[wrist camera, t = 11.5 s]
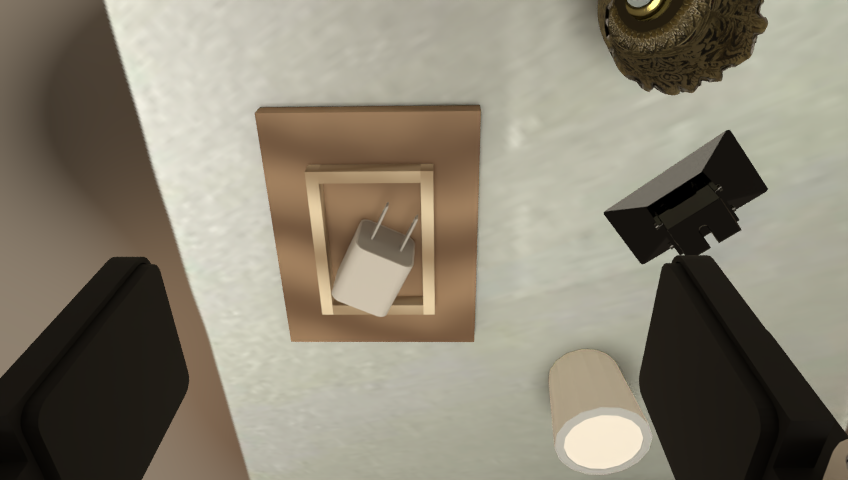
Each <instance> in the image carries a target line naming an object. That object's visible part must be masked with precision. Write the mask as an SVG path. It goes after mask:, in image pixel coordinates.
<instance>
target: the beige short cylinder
mask: <svg viewBox="0 0 848 480" xmlns="http://www.w3.org/2000/svg"><path fill="white" fill-rule="evenodd" d="M548 381H549V392H550V403H551V414H552V425H553V436H554V447H555V450H556V452H557V455H558V457H559V459H560V461H562V462H563V463H564V464H565V465H567V466H568V467H569V468H570V469H572V470H575V471H579V472H582V473H585V474H598V475H606V474H610V473H614V472H618V471H623V470H625V469H627V468H628V467H630V466H632V465H634V464H635V463H637V462H639V461H640V460H641V459H642V457H643V456H644V455H645V454H646V453H647V452H648V450H649V448H650V444H651V441H652V437H653V436H652V433H651V430H650V427H649V424H648V422H647V420H646V418H645V416H644V414H643V413H642V411H641V409H640V407H639V405H638V403H637V401H636V399H635V397H634V396H633V394H632V392H631V390H630V388H629V386H628V384H627V382H626V381H625V379H624V377H623V375H622V373H621V371H620V369H619V367H618V365H617V364H616V362H615V361H614V360H613V359H612V358H611V357H610V356H609V355H608V354H606V353H603V352H601V351H598V350H595V349H580V350H576V351H573V352H570V353H567V354H565V355H564V356H562V357H561V358H559V359H558V360H557V361H556V362H555V363H554V365H553V366H552V368H551V369H550V373H549V380H548Z"/></svg>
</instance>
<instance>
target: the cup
mask: <svg viewBox="0 0 848 480" xmlns="http://www.w3.org/2000/svg"><path fill="white" fill-rule="evenodd" d="M763 2H764V0H651V1H650V3H648V4H647V5H646V6H644V7H640V8H636V7H633V6H631V5H630V4H629V3H628V2H627V0H598V21H599V26H600V30H601V33H602V36H603V39H604V41H605V43H606V45H607V47H608V49H609V51H610V53H611V55H612V57H613V59H614V62H615V64H616V66H617V67H618V69H619V70H620V72H621V73H622V74H623V75H624V76H625V77H627V78H628V79H630V80H633V81H636V82H637V83H638V84H639V86H640V87H641V88H642V89H644V90H646V91H648V92H650V91H651V90H652V89H653V87H654V88H656V89H657V90H659V91H660V92H662V93H664V94H668V95H677V94H679V93H680V91H681V92H689V93H693V92H694V91H695V90H696V89H697V88H698V86H700V85H701V81H708V82H718V81H721V80H722V77H723V74H722V72H723V71H724V70H726V69H728V68H730V67H736V66H737V65H739V64H741V63H742V62H744V61H745V60H747V59H749V58H750V57H751V55H752V53H753V50H754V46H755V43H756V40H757V35H759V34H762V33H763V32H764V31H765V29H766V27H767V25H768V21H767V18H766V17H763V16H762V15H761V14H760V8H761V5H762V4H763Z"/></svg>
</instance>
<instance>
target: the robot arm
mask: <svg viewBox="0 0 848 480" xmlns="http://www.w3.org/2000/svg"><path fill="white" fill-rule="evenodd" d="M188 384H189V374H188V370H187V366H186V362H185V359H184V355H183V352H182V348H181V344H180V341H179V337H178V334H177V330H176V327H175V323H174V319H173V315H172V312H171V308H170V305H169V301H168V297H167V294H166V290H165V287H164V283H163V279H162V276H161V272H160V270H159V268H158V266H157V265H154V264H151V263H150V261H149V260H148V259H147V258H145V257H113V258H111V259H109V260H108V261H107V262H106V263H105V264H104V266H103V267H102V268H101V269H100V270H99V271H98V272H97V273H96V274H95V275H94V276H93V278H92V279H91V280H90V281H89V282H88V283H87V284H86V285H85V286H84V287H83V288H82V290H81V291H80V292H79V293H78V294H77V295H76V296H75V297H74V298H73V299H72V301H71V302H70V303H69V304H68V305H67V306H66V307H65V308H64V309H63V310H62V312H61V313H60V314H59V315H58V316H57V317H56V318H55V319H54V320H53V321H52V322H51V323H50V325H49V326H48V327H47V328H46V329H45V330H44V331H43V332H42V333H41V334H40V336H39V337H38V338H37V339H36V340H35V341H34V342H33V343H32V344H31V345H30V346H29V347H28V349H27V350H26V351H25V352H24V353H23V354H22V355H21V356H20V357H19V358H18V359H17V361H16V362H15V363H14V364H13V365H12V366H11V367H10V368H9V369H8V370H7V372H6V373H5V374H4V375H3V376H2V377H1V378H0V480H142V478H143V476H144V474H145V472H146V470H147V468H148V466H149V465H150V463H151V461H152V459H153V457H154V455H155V453H156V451H157V449H158V447H159V445H160V443H161V441H162V439H163V437H164V435H165V433H166V431H167V429H168V428H169V425H170V424H171V422H172V419H173V418H174V416H175V414H176V412H177V410H178V408H179V406H180V404H181V402H182V400H183V398H184V396H185V394H186V392H187V389H188ZM639 386H640V392H641V395H642V398H643V400H644V403H645V405H646V408H647V410H648V413H649V415H650V418H651V420H652V422H653V425H654V427H655V430H656V432H657V435H658V437H659V440H660V442H661V445H662V447H663V450H664V452H665V455H666V457H667V460H668V462H669V465H670V467H671V470H672V472H673V475H674V477H675V480H848V435H847V434H846V433H845V431H844V430H843V429H842V427H841V426H840V425H839V423H838V422H837V421H836V419H835V418H834V417H833V415H832V414H831V413H830V411H829V410H828V409H827V407H826V406H825V405H824V403H823V402H822V401H821V400H820V398H819V397H818V396H817V394H816V393H815V392H814V390H813V389H812V388H811V386H810V385H809V384H808V382H807V381H806V380H805V378H804V377H803V376H802V374H801V373H800V372H799V370H798V369H797V368H796V366H795V365H794V364H793V362H792V361H791V360H790V358H789V357H788V356H787V355H786V353H785V352H784V351H783V349H782V348H781V347H780V345H779V344H778V343H777V341H776V340H775V339H774V337H773V336H772V335H771V334H770V333H769V332H768V331H767V330H766V329H765V327H764V326H763V325H762V323H761V322H760V321H759V319H758V318H757V317H756V315H755V314H754V313H753V311H752V310H751V309H750V307H749V306H748V305H747V303H746V302H745V301H744V299H743V298H742V297H741V295H740V294H739V293H738V291H737V290H736V289H735V287H734V286H733V285H732V283H731V282H730V281H729V279H728V278H727V277H726V275H725V274H724V273H723V271H722V270H721V269H720V267H719V266H718V265H717V263H716V262H715V261H714V259H713V258H712V257H711V256H707V255H677V256H676V257H674V259H673V260H672V263H666V264H664V265H663V267H662V270H661V274H660V279H659V284H658V289H657V293H656V298H655V303H654V308H653V313H652V317H651V322H650V327H649V332H648V336H647V341H646V346H645V351H644V356H643V360H642V365H641V370H640V376H639Z"/></svg>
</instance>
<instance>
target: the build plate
mask: <svg viewBox="0 0 848 480" xmlns="http://www.w3.org/2000/svg"><path fill="white" fill-rule="evenodd" d="M767 190H768V188H767V187H766V185H765V183H764V182H763V180H762V179H761V177H760V176H759V174H758V173H757V171H756V169H755V168H754V166H753V165H752V163H751V162H750V160H749V159H748V157H747V156H746V154H745V152H744V151H743V149H742V148H741V146H740V145H739V143H738V142H737V140H736V138H735V137H734V135H733V134H732V132H731V131H730V130H726V131H725V132H723V133H722V134H720V135H719V136H717V137H716V138H714V139H713V140H711V141H710V142H708V143H707V144H705V145H704V146H702V147H701V148H699V149H698V150H696V151H695V152H693V153H692V154H690V155H689V156H687V157H686V158H684V159H683V160H681V161H680V162H678V163H677V164H675V165H674V166H672V167H671V168H669V169H668V170H666V171H665V172H663V173H662V174H660V175H659V176H657V177H656V178H654V179H653V180H651V181H650V182H648V183H647V184H645V185H644V186H642V187H641V188H639V189H638V190H636V191H635V192H633V193H632V194H630V195H629V196H627V197H626V198H624V199H623V200H621V201H620V202H618V203H617V204H615V205H614V206H612V207H611V208H609V209H608V210H606V211H605V212H604V215H605V216H606V218H607V219H608V220H609V222H610V223H611V224H612V226H613V227H614V228H615V230H616V231H617V232H618V234H619V235H620V236H621V238H622V239H623V240H624V242H625V243H626V244H627V246H628V247H629V248H630V250H631V251H632V252H633V254H634V255H635V257H636V258H637V259H638V261H639V262H640V263H641V264H645V263H647V262H648V261H650V260H652V259H653V258H655V257H657V256H658V255H660V254H662V253H664V252H665V251H667V250H669V249H670V248H671V249H673V248H675V249H676V250H677V252H678V253H679V254H680V255H682V254H683V253H684V254H685V255H700V254H701V253H703V252H705V251H706V250H708V249H710V248H711V247H710V246H709V244H708V243H707V241H706V240H705V238H704V236H706V235H708V234H709V233H712V234H713V236H714V237H715V239H716V240H717V241H718V243H720V242H722V241H723V240H725V239H727V238H729V237H730V236H732V235H734V234H735V233H737V232H739V231H740V230H741V228H740V226H739V225H738V223H737V221H739V219H738V217H737V216H736V214H735V213H734V212H735V211H736V209H738V208H739V207H741V206H743V205H744V204H746V203H748V202H750V201H751V200H753V199H755V198H756V197H758V196H760V195H761V194H763V193H765V192H766V191H767Z"/></svg>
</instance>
